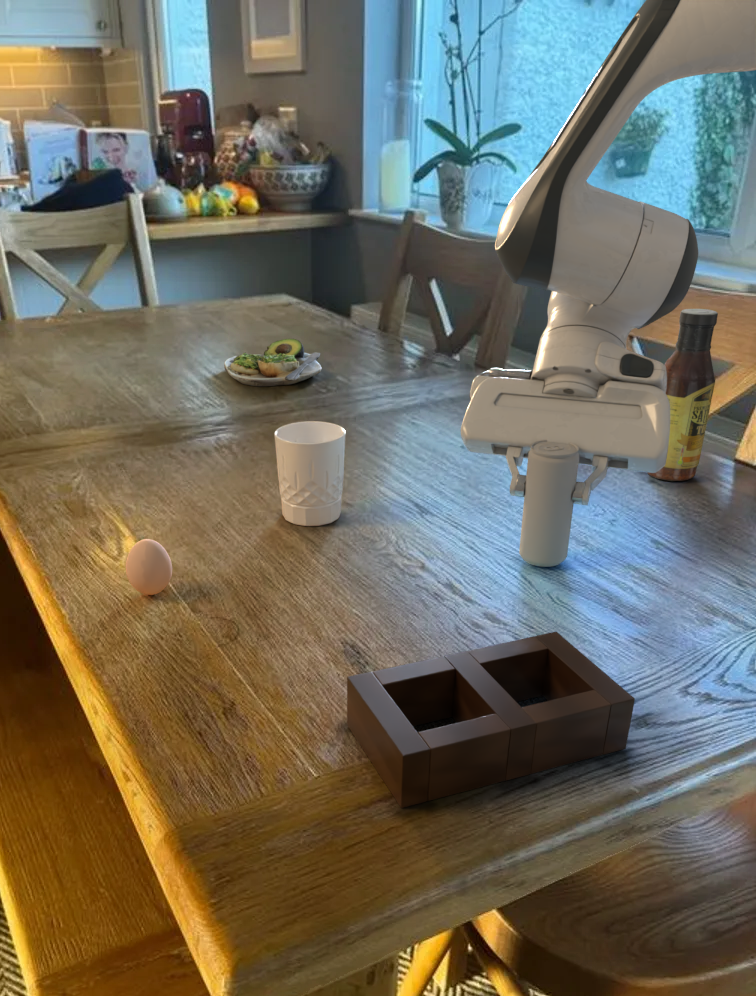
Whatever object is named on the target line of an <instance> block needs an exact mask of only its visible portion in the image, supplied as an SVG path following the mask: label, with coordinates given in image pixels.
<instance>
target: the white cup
mask: <svg viewBox="0 0 756 996" xmlns="http://www.w3.org/2000/svg"><path fill="white" fill-rule="evenodd" d="M273 434H274V435H273V436H274V445H275V457H276V467H277V468H276V469H277V479H278V486H279V488H278V489H279V494H280V499H281V514H282V516H283V518H284V519H285V521H286V522H289V523H291V524H293V525H298V526H304V527H318V526H324V525H328V524H332V523H333V522H335V521H337V520H339V518H340V516H341V514H342V495H343V489H344V478H345V477H344V476H345V475H344V474H345V452H346V430H345V428H344V427H342V426H341V425H338V424H337V423H333V422H328V421H317V420H315V421H314V420H308V421H296V422H292V423H287V424H283V425H282V426H280V427H278V428H276V429H275V431H274V433H273Z"/></svg>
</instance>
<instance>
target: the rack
mask: <svg viewBox="0 0 756 996" xmlns="http://www.w3.org/2000/svg"><path fill="white" fill-rule="evenodd" d="M539 697H543V698H544V699H545V700H546V701H543V702H538V703H534V704H529V705H526V706H521V705H520V704H519V703H518V702H522V701H526V700H531V699H534V698H539ZM346 699H347V700H346V712H347V713H346V726H347V727H348V729H349V730H350V732H351V733H352V735H353V736H354V738H355V739H356V741H357V743H358V744H359V745H360V747H361V749H362V750H363V752H364V753H365V755H366V756H367V758H368V759H369V761H370V763H371V764H372V765H373V767H374V769H375V770H376V772H377V773H378V775H379V776H380V778H381V779H382V781H383V782H384V784H385V785H386V787H387V789H388V790H389V792H390V793H391V795H392V796H393V798H394V799H395V801H396V803H397V804H398V806H399V807H400V808H401V809H404V808H407V807H411V806H414V805H418V804H422V803H425V802H430V801H434V800H437V799H441V798H445V797H449V796H452V795H456V794H461V793H464V792H467V791H471V790H475V789H479V788H483V787H486V786H490V785H494V784H497V783H501V782H502V783H503V782H505V781H510V780H514V779H518V778H521V777H525V776H529V775H533V774H535V773H540V772H543V771H548V770H550V769H554V768H558V767H562V766H566V765H570V764H573V763H577V762H581V761H584V760H588V759H592V758H596V757H599V756H603V755H609V754H611V753H615V752H619V751H623V750H626V749H627V743H628V740H629V739H628V738H629V732H630V727H631V722H632V717H633V711H634V706H635V701H636V700H635V699H636V698H635V697H634V696H633V695H632V694H630V693H629V692H628V691H627V690H625V689H624V688H623V687H622V686H621V685H619V683H617V682H616V681H615V680H614V679H612V677H610V676H609V675H608V673H606V672H604V671H603V670H602V669H601V668H599V666H597V665H596V664H595V663H594V662H593V661H592V660H590V659H589V658H588V657H587V656H586V655H585V654H584V653H582V652H581V651H580V650H579V649H578V648H576V646H574V645H573V644H571V642H569V641H568V640H567V639H566V638H565V637H564V636H563V635H561V634H560V633H559V632H558V631H551V632H547V633H542V634H538V635H533V636H528V637H525V638H520V639H515V640H510V641H505V642H502V643H497V644H492V645H486V646H483V647H477V648H473V649H468V650H463V651H459V652H454V653H449V654H445V655H441V656H437V657H432V658H428V659H427V658H426V659H423V660H418V661H414V662H409V663H405V664H401V665H395V666H390V667H387V668H382V669H377V670H372V671H367V672H363V673H358V674H353V675H348V676H347V677H346ZM450 718H453V720H454V721H455V723H451V724H446V725H443V726H439V727H434V728H430V729H426V730H421V731H417V730H416V729H415V727H416V726H420V725H424V724H428V723H433V722H437V721H442V720H445V719H450Z"/></svg>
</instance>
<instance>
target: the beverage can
mask: <svg viewBox="0 0 756 996" xmlns="http://www.w3.org/2000/svg"><path fill="white" fill-rule="evenodd" d="M569 444H570V445H569ZM569 444H565V443H557V442H547V440H540V441H536V442H534V443H532V444H531V447H530V449H531V450H530V451H529V453H528V459H527V463H526V464H527V465H526V474H525V475H526V485H525V496H524V497H523V506H522V517H521V518H522V519H521V526H520V527H521V529H520V537H519V538H520V539H519V548H518V550H519V551H518V553H519V556H520V557H521V559H522V560H523V561H524V562H525V563H527V564H529V565H532V566H536V567H544V568H549V567H550V568H551V567H556V566H559V565H561V564H562V563H563V562H564V561H565V560H566V559H567V557H568V553H569V544H570V536H571V527H572V519H573V512H574V504H573V501H572V496H573V492H574V491H575V489H574V487H575V483H576V482H577V479H578V473H579V472H578V471H579V465H578V464H579V453H578V451H579V447H578V446H577V445H576V444H574V443H571V442H569Z"/></svg>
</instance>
